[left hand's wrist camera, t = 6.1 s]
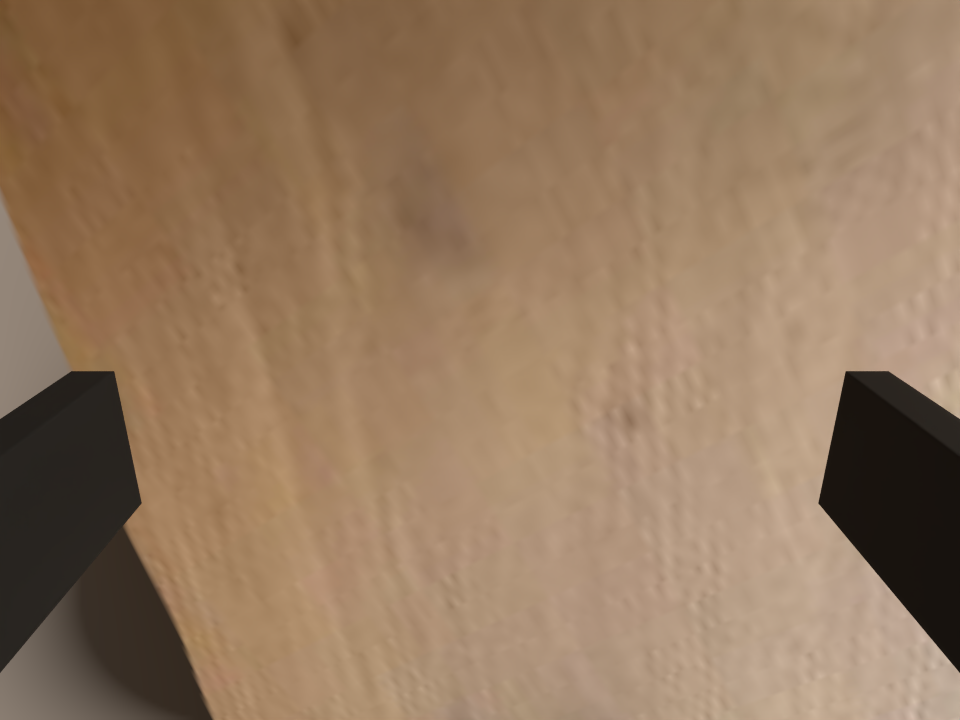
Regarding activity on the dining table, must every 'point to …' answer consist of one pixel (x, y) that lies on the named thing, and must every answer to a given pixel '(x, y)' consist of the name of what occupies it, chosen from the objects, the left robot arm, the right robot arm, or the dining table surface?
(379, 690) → the dining table surface
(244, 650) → the dining table surface
